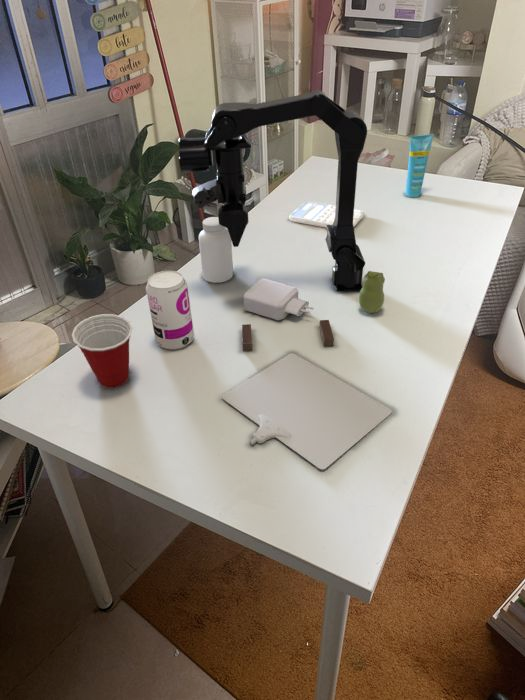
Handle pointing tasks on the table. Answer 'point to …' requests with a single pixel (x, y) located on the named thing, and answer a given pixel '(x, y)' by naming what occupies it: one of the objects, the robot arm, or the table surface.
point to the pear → (372, 292)
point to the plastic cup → (105, 347)
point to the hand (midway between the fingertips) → (235, 237)
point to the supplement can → (170, 309)
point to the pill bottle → (215, 251)
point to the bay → (323, 325)
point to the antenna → (306, 409)
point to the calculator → (320, 214)
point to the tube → (417, 163)
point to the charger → (274, 300)
